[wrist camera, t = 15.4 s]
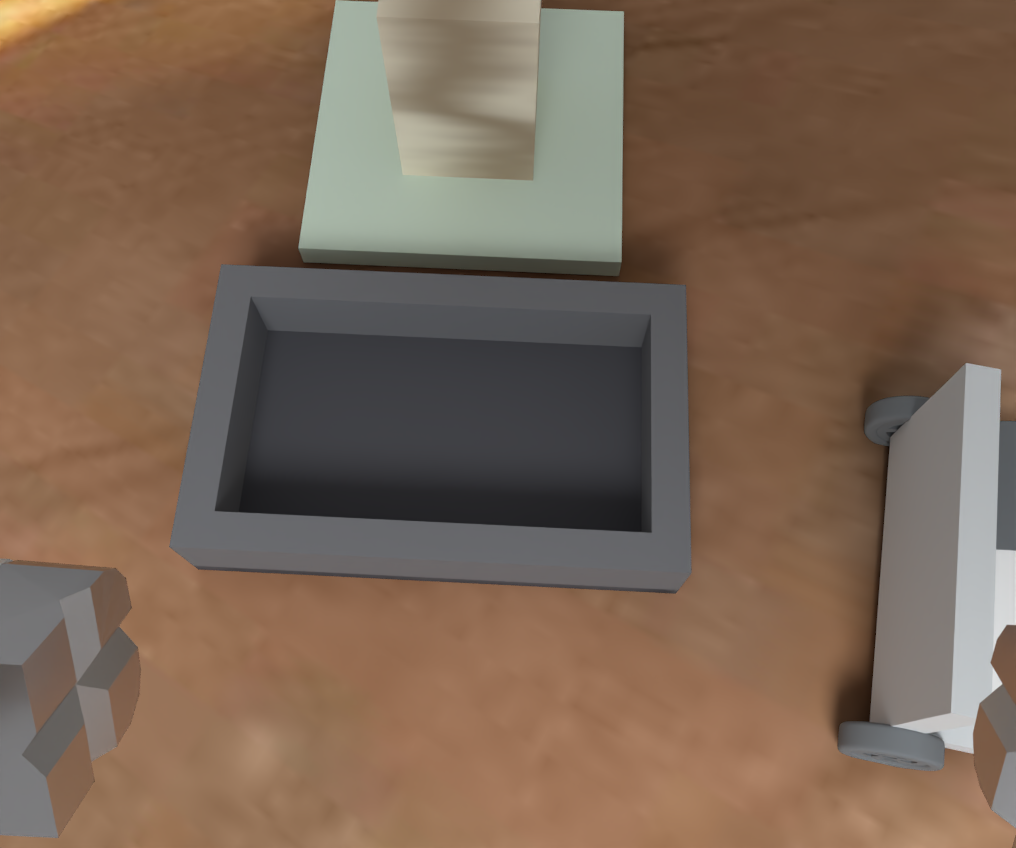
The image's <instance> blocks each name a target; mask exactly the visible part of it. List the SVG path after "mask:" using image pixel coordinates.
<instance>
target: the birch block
mask: <svg viewBox="0 0 1016 848" xmlns="http://www.w3.org/2000/svg"><path fill="white" fill-rule="evenodd" d="M376 17H377V23H378V29H379V35H380V41H381V47H382V53H383V59H384V65H385V71H386V77H387V83H388V89H389V95H390V101H391V107H392V113H393V119H394V125H395V131H396V137H397V143H398V149H399V155H400V161H401V167H402V173H403V175H416V176H439V177H463V178H486V179H509V180H532V181H533V170H534V150H535V131H536V111H537V91H538V70H539V45H540V20H541V0H379V1H378V8H377V16H376Z"/></svg>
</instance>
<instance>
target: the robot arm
mask: <svg viewBox="0 0 1016 848" xmlns="http://www.w3.org/2000/svg"><path fill="white" fill-rule="evenodd" d="M131 608H132V606H131V601H130V596H129V591H128V586H127V581H126V578H125V577H124V576H123V575H122V574H121V573H120V572H119V571H118V570H117V569H116V568H108V567H96V566H83V565H71V564H59V563H47V562H35V561H23V560H16V561H13V560H10V559H0V835H10V836H30V837H51V838H59V836H60V835H61V833H62V831H63V830H64V828H65V827H66V825H67V824H68V822H69V821H70V819H71V817H72V816H73V814H74V813H75V811H76V810H77V808H78V807H79V805H80V804H81V802H82V800H83V799H84V797H85V796H86V794H87V793H88V791H89V790H90V788H91V786H92V785H93V783H94V782H95V780H94V774H93V768H92V763H91V761H93V760H95V759H96V758H98V757H100V756H101V755H103V754H105V753H106V752H108V751H110V750H112V749H113V748H115V747H117V746H118V744H119V742H120V741H121V739H122V737H123V736H124V734H125V732H126V731H127V729H128V727H129V726H130V724H131V721H132V718H133V715H134V711H135V708H136V704H137V701H138V697H139V694H140V675H141V667H140V660H139V653H138V647H137V646H136V645H135V644H134V643H133V641H132V640H131V639H130V638H129V637H128V636H127V635H126V634H125V633H124V632H123V630H122V629H121V628H120V627H119V626H120V624H121V623H122V621H123V620H124V619H125V617H126V616H127V614H128V613H129V611H130V610H131ZM990 663H991V665H992V667H993V668H994V670H995V672H996V673H997V675H998V677H999V679H1000V680H1001V682H1002V685H1001V686H999V687H998V688H997V689H996V690H995V691H993V692H992V693H991V694H990V695H989V696H987V697H986V698H985V699H984V700H983V701H981V702H980V703H979V708H978V712H977V717H976V721H975V726H974V730H973V751H974V766H975V770H976V773H977V777H978V781H979V784H980V788H981V790H982V792H983V794H984V796H985V798H986V800H987V802H988V804H989V806H990V808H991V810H992V811H994V812H995V813H996V814H998V815H999V816H1000V817H1002V818H1003V819H1004V820H1006V821H1007V822H1008V823H1010V824H1011V825H1012V826H1014V827H1015V828H1016V625H1006V627H1005V628H1004V630H1003V631H1002V633H1001V634H1000V636H999V637H998V639H997V641H996V645H995V648H994V652H993V655H992V659H991V662H990ZM1012 848H1016V836H1015V840H1014V843H1013V847H1012Z"/></svg>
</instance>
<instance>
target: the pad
mask: <svg viewBox="0 0 1016 848" xmlns="http://www.w3.org/2000/svg"><path fill="white" fill-rule="evenodd" d="M377 8H378V2H365V1H340V0H336V3H335V9H334V16H333V23H332V29H331V36H330V42H329V49H328V56H327V62H326V69H325V75H324V82H323V89H322V95H321V102H320V108H319V115H318V121H317V128H316V135H315V141H314V148H313V154H312V161H311V168H310V174H309V181H308V187H307V194H306V201H305V207H304V214H303V220H302V227H301V233H300V240H299V247H298V249H299V251H300V254H301V257H302V259H303V262H308V263H331V264H354V265H376V266H399V267H421V268H444V269H467V270H489V271H512V272H535V273H557V274H580V275H603V276H619V273H620V268H621V263H622V163H623V55H624V12H623V11H597V10H572V9H546V8H541V20H540V45H539V70H538V91H537V111H536V131H535V150H534V170H533V181H532V180H509V179H486V178H463V177H439V176H416V175H403V173H402V167H401V161H400V155H399V149H398V143H397V137H396V131H395V125H394V119H393V113H392V107H391V101H390V95H389V89H388V83H387V77H386V71H385V65H384V59H383V53H382V47H381V41H380V35H379V29H378V23H377V17H376V16H377Z"/></svg>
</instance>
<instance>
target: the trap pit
mask: <svg viewBox="0 0 1016 848" xmlns="http://www.w3.org/2000/svg"><path fill="white" fill-rule="evenodd" d="M169 547H170V548H171V549H173V550H174V551H175V552H177V553H178V554H179V555H181V556H182V557H183V558H184V559H186V560H187V561H188V562H190V563H191V564H192V565H193V566H195V567H196V568H197V569H202V570H222V571H242V572H262V573H281V574H301V575H321V576H341V577H361V578H380V579H400V580H420V581H440V582H460V583H479V584H499V585H519V586H539V587H559V588H578V589H598V590H618V591H638V592H658V593H676V592H677V591H678V590H679V588H680V587H681V586H682V585H683V583H684V582H685V581H686V579H687V578H688V577H689V575H690V574H691V525H690V472H689V419H688V366H687V312H686V285H675V284H652V283H630V282H607V281H584V280H562V279H539V278H517V277H494V276H472V275H449V274H426V273H404V272H381V271H359V270H336V269H313V268H291V267H268V266H246V265H223V264H221V269H220V275H219V280H218V286H217V291H216V296H215V302H214V307H213V313H212V318H211V324H210V329H209V334H208V340H207V345H206V351H205V356H204V361H203V367H202V372H201V378H200V383H199V389H198V394H197V399H196V405H195V410H194V416H193V421H192V427H191V432H190V437H189V443H188V448H187V454H186V459H185V465H184V470H183V475H182V481H181V486H180V492H179V497H178V503H177V508H176V513H175V519H174V524H173V530H172V535H171V540H170V546H169Z"/></svg>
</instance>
